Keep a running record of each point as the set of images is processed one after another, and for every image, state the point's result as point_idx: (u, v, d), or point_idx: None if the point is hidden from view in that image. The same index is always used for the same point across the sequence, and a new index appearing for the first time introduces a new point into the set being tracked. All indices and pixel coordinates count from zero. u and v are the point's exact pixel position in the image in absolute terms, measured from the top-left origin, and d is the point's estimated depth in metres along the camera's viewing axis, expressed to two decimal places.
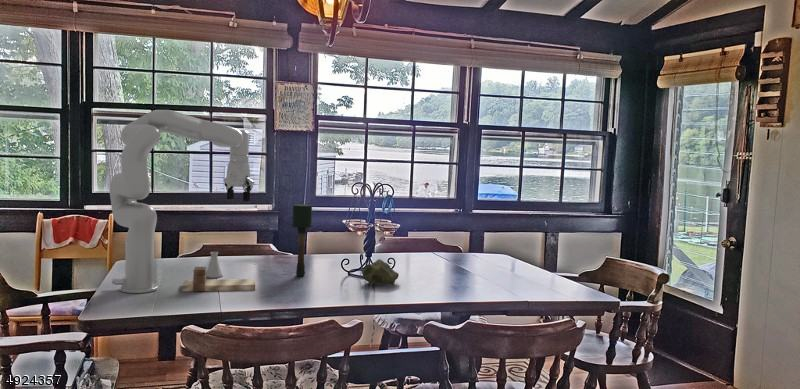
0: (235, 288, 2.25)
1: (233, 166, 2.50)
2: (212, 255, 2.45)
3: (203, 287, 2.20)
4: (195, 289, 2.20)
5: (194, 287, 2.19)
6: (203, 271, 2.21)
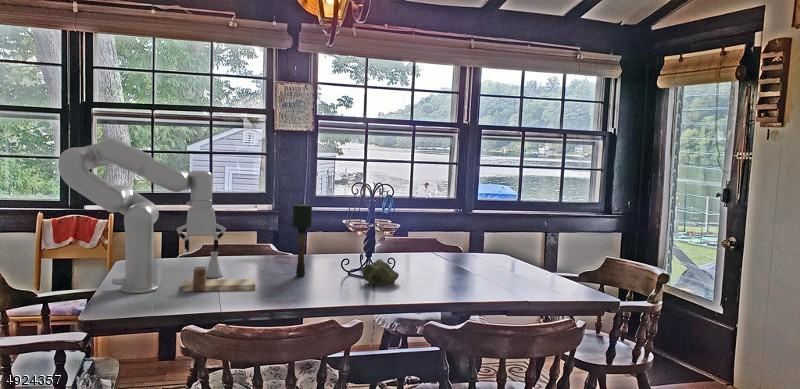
0: (235, 288, 2.25)
1: (200, 213, 2.19)
2: (212, 255, 2.45)
3: (203, 287, 2.20)
4: (195, 289, 2.20)
5: (194, 287, 2.19)
6: (203, 271, 2.21)
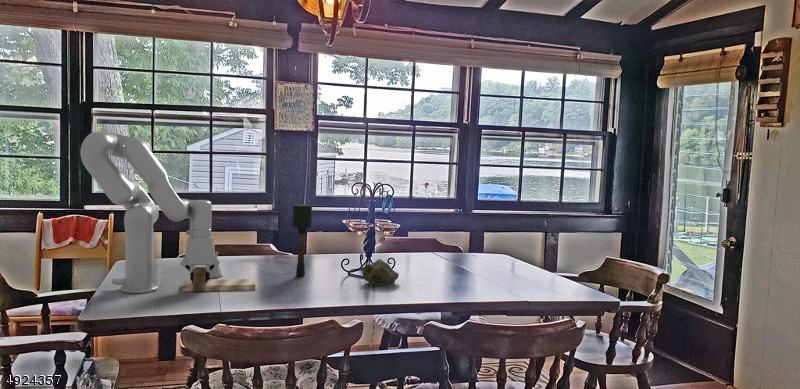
0: (235, 288, 2.25)
1: (199, 243, 2.20)
2: None
3: (203, 287, 2.20)
4: (195, 289, 2.20)
5: (194, 287, 2.19)
6: (203, 271, 2.21)
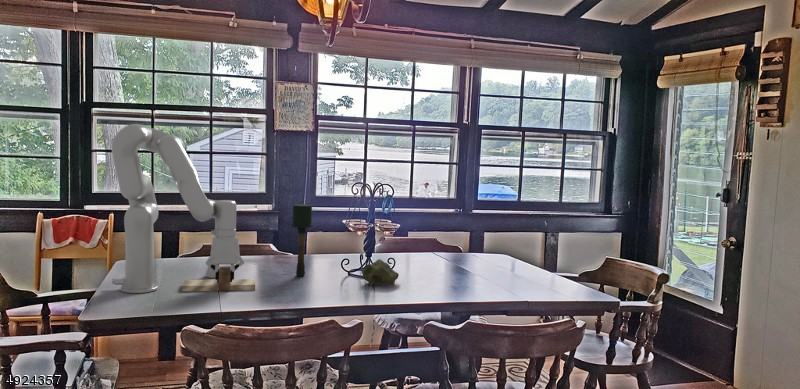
0: (235, 288, 2.25)
1: (225, 242, 2.22)
2: None
3: (228, 286, 2.22)
4: (220, 288, 2.22)
5: (219, 286, 2.22)
6: (228, 270, 2.23)
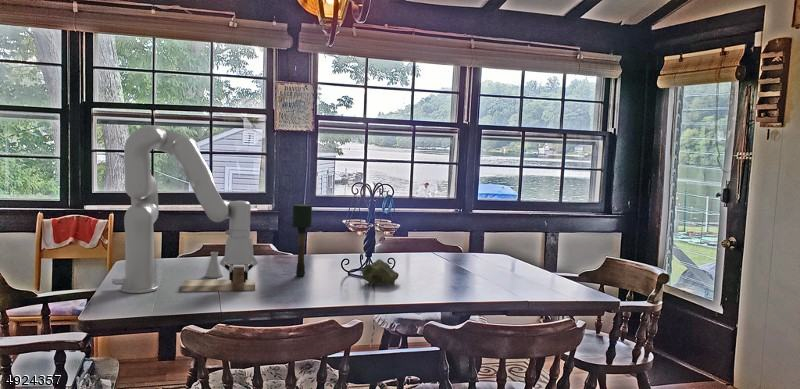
0: None
1: (239, 243, 2.24)
2: (212, 255, 2.45)
3: (242, 286, 2.24)
4: (234, 288, 2.23)
5: (233, 286, 2.23)
6: (242, 271, 2.24)
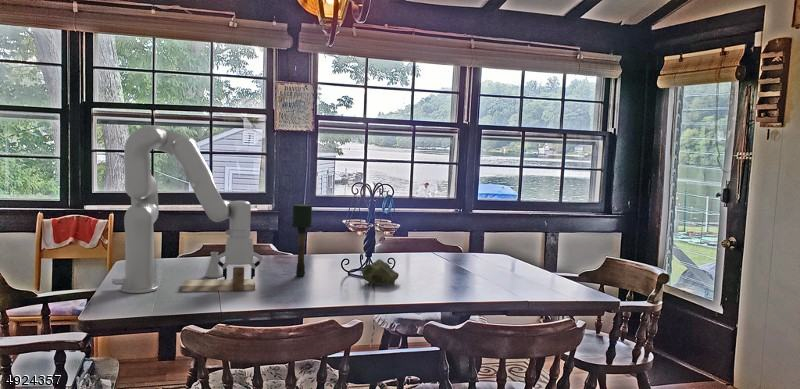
0: None
1: (239, 243, 2.24)
2: (212, 255, 2.45)
3: (242, 286, 2.24)
4: (234, 288, 2.23)
5: (233, 286, 2.23)
6: (242, 271, 2.24)
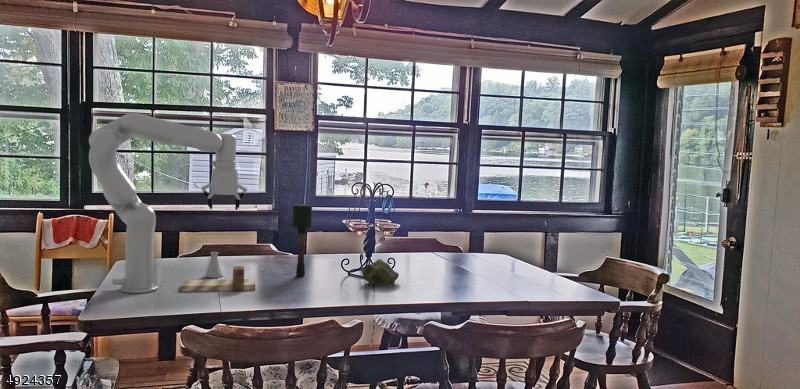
0: None
1: (224, 173, 2.33)
2: (212, 255, 2.45)
3: (242, 286, 2.24)
4: (234, 288, 2.23)
5: (233, 286, 2.23)
6: (242, 271, 2.24)
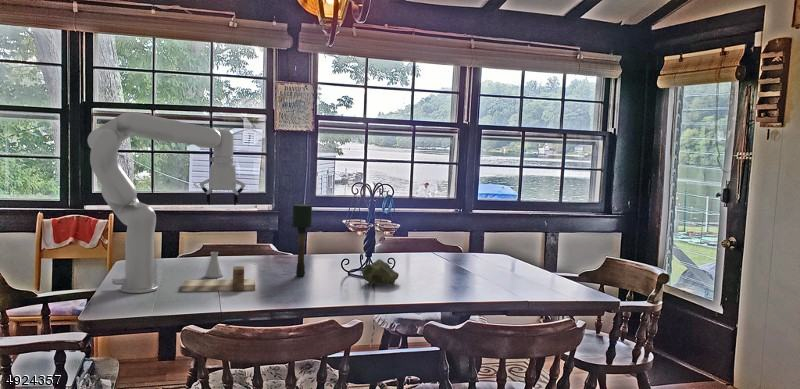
0: None
1: (222, 169, 2.35)
2: (212, 255, 2.45)
3: (242, 286, 2.24)
4: (234, 288, 2.23)
5: (233, 286, 2.23)
6: (242, 271, 2.24)
